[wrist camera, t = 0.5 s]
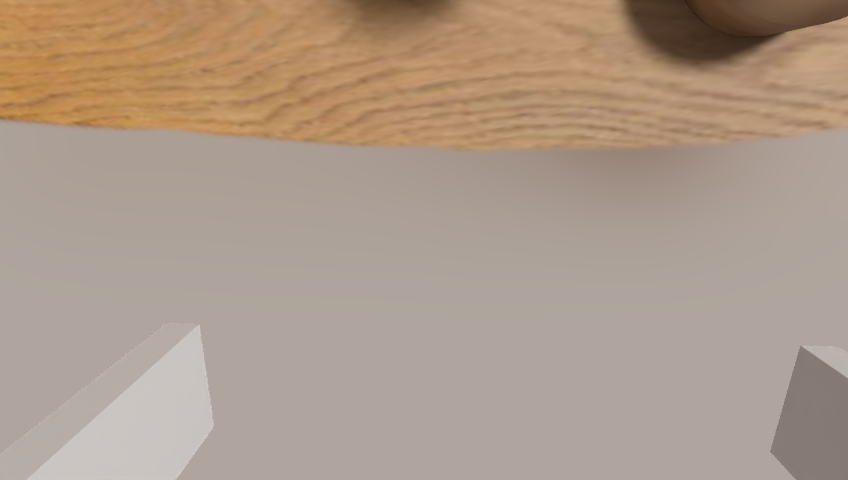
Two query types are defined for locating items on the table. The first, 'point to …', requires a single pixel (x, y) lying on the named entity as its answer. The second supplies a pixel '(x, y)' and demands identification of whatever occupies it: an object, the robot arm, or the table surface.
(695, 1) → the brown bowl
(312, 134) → the table surface
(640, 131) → the table surface
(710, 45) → the table surface
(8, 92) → the table surface
